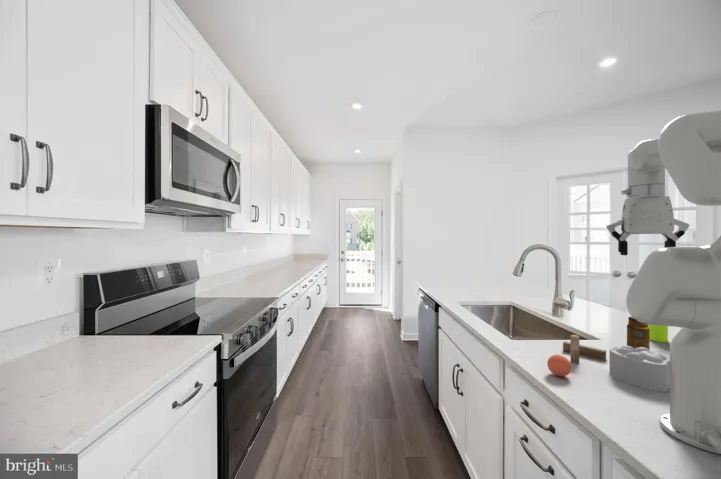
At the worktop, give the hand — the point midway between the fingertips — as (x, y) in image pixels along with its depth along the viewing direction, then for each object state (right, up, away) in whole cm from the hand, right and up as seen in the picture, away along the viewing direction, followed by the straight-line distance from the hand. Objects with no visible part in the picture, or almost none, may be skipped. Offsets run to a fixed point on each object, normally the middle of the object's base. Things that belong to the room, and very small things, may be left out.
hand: (646, 255), depth 85 cm
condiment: (+20, -36, +25) cm, 48 cm away
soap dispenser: (+38, -36, +37) cm, 64 cm away
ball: (-20, -33, +7) cm, 39 cm away
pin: (-8, -36, +16) cm, 40 cm away
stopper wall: (-1, -36, +22) cm, 42 cm away
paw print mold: (+1, -36, +4) cm, 36 cm away
